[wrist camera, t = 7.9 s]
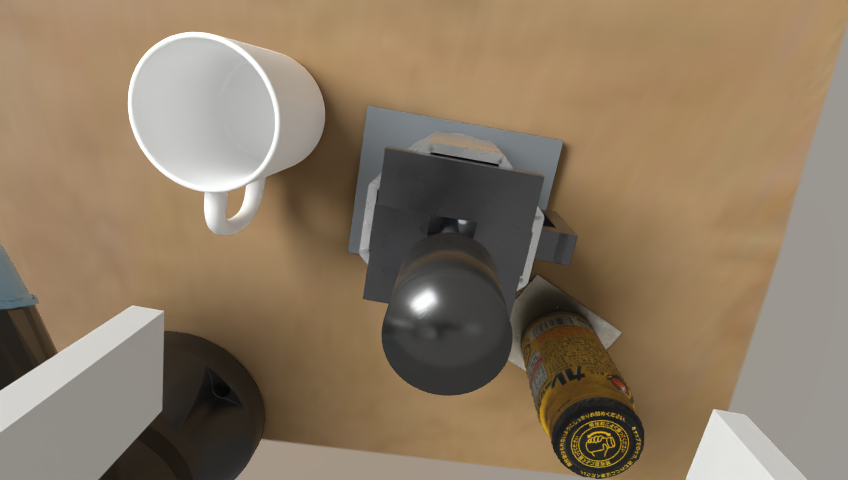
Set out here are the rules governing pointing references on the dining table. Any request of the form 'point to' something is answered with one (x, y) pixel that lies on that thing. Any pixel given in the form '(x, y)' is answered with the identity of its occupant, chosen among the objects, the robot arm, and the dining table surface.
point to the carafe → (458, 210)
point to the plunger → (447, 312)
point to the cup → (223, 118)
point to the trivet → (411, 128)
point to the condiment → (575, 381)
